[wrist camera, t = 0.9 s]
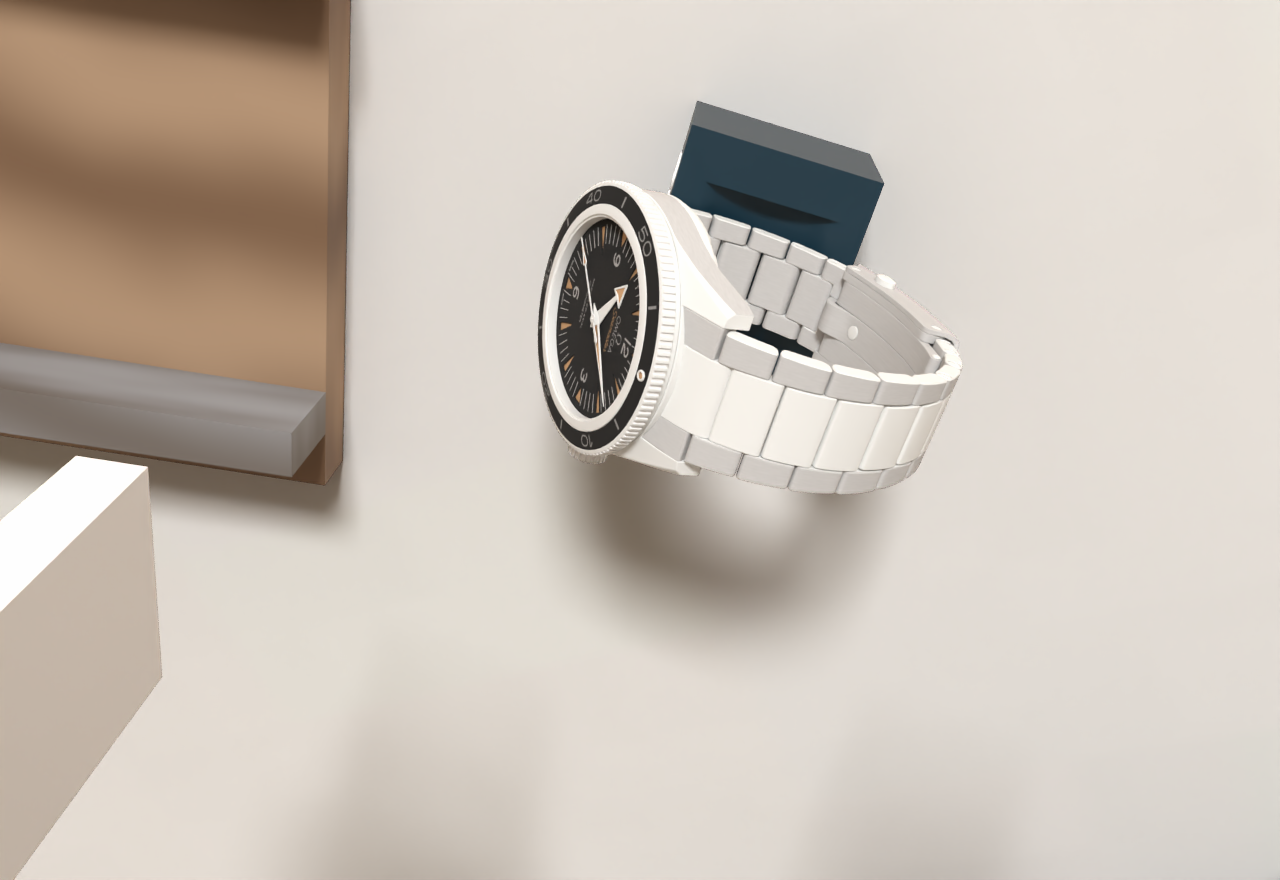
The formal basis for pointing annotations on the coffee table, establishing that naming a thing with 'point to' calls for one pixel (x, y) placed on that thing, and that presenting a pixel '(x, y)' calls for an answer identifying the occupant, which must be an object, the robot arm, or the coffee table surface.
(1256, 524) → the coffee table surface
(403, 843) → the coffee table surface
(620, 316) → the watch
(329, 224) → the wooden tray
